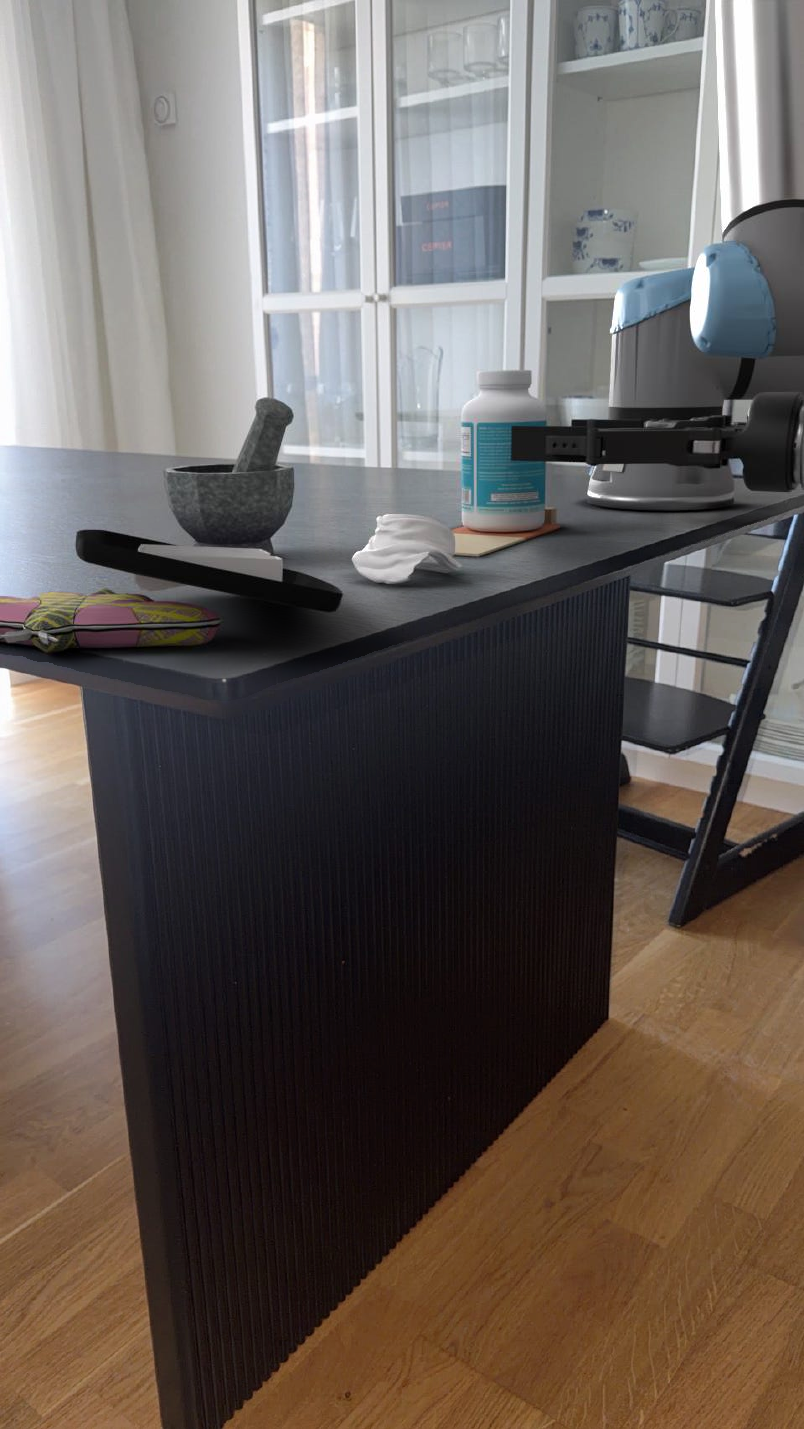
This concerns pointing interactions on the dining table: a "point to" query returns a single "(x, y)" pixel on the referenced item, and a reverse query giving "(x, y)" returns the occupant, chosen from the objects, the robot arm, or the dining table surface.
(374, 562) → the white folded cloth ring
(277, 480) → the mortar and pestle
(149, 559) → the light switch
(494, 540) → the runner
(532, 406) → the pill bottle
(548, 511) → the stop bar
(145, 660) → the dining table surface
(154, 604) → the patterned fabric pouch
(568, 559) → the dining table surface
